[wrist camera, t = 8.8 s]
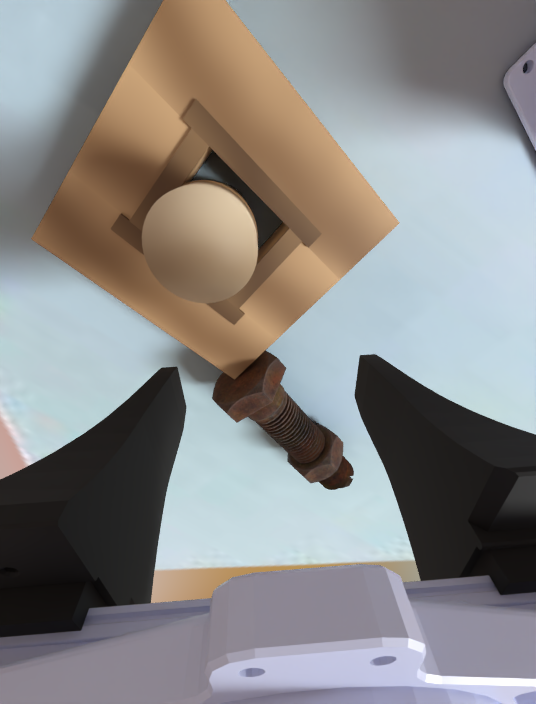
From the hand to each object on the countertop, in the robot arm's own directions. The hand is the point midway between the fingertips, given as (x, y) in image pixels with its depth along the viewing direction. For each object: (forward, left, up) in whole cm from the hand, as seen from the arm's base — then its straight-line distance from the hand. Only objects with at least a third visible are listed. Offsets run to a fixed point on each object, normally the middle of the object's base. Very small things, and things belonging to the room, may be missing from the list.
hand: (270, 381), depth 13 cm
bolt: (+7, +10, -11) cm, 16 cm away
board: (-2, -5, -10) cm, 11 cm away
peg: (-2, -5, -10) cm, 12 cm away
